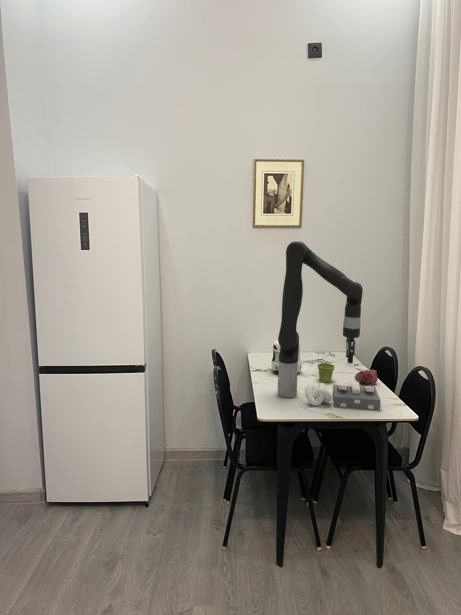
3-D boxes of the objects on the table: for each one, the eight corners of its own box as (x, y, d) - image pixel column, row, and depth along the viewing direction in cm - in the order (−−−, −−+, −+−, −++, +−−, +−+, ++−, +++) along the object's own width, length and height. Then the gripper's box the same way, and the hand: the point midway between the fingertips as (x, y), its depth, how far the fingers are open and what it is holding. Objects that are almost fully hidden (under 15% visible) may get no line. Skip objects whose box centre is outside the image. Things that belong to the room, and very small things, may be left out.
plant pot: (337, 380, 219) (338, 365, 217) (328, 385, 212) (329, 369, 211) (322, 376, 225) (322, 362, 224) (313, 381, 218) (313, 365, 217)
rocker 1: (339, 389, 187) (339, 385, 187) (338, 387, 194) (338, 384, 194) (346, 389, 186) (347, 386, 186) (345, 388, 193) (345, 384, 193)
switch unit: (334, 407, 184) (334, 391, 183) (332, 394, 200) (333, 380, 198) (380, 410, 180) (380, 395, 179) (374, 397, 196) (375, 382, 194)
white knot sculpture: (313, 410, 181) (314, 391, 180) (299, 400, 192) (299, 382, 190) (334, 406, 185) (334, 387, 184) (318, 397, 196) (319, 379, 195)
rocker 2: (352, 393, 186) (352, 390, 186) (351, 384, 193) (351, 381, 192) (360, 394, 186) (360, 390, 185) (358, 385, 192) (359, 382, 191)
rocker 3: (366, 391, 184) (366, 387, 185) (364, 389, 191) (364, 385, 191) (374, 391, 184) (374, 387, 184) (371, 389, 191) (371, 386, 191)
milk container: (300, 367, 241) (300, 338, 238) (302, 377, 224) (303, 346, 221) (271, 367, 243) (271, 338, 240) (271, 376, 226) (271, 345, 223)
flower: (356, 386, 219) (362, 370, 222) (374, 392, 213) (380, 375, 216) (350, 380, 210) (357, 362, 213) (369, 385, 204) (375, 367, 207)
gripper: (342, 322, 191) (339, 355, 193) (344, 329, 177) (342, 364, 180) (358, 323, 189) (355, 356, 192) (362, 330, 176) (359, 365, 178)
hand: (349, 360), depth 186 cm, fingers open, 8 cm apart
